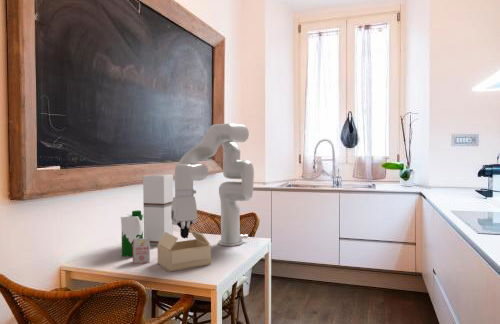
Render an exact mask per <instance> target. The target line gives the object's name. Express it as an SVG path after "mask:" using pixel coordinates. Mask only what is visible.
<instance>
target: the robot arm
mask: <svg viewBox="0 0 500 324" xmlns="http://www.w3.org/2000/svg"><path fill="white" fill-rule="evenodd" d="M249 135H250V131H249V129H248V127H247V126H246V125H244V124H237V123H236V124H235V123H215V124H212V125H210V126H209V128H208V129H207V131H206V133H205V134H204V135H203V137H202V139H201V141H200V143H198V144H197V145H196V146H194V147H193V148H191V149H189V150H188V151H187V152H186V153H184V154H183V155H182V156H181V158H180V160H179V162H178V163H177V164H176V165H175V166H174V196H173V200H172V207H171V219H172V224H173V226H177V227H178V228H180V229H179V230H180V238H182V239H188V237H189V235H190V234H189V232H190V231H189V230H190V228H191V226H192V224H195V223H197V222H198V219H197V218H198V210H197V201H196V198H195V197H196V196H195V195H194V194H196V193H197V190H194V181H198V182H199V181H200V182H202V181H203V180H206V179H207V177H208V176H209V169H208V166H206V165H205V164H203V163H198V162H200V161H204V160H206V159H210V158H212V157H213V156H215V155H216V153H217V152H218V150H219V148H220V146H222V149H223V165H222V166H223V167H222V174H223V177H224V178H226V179H230V180H241V181H225V182H222V183H221V184H219V187H218V196H219V200H220V201H219V202H220V239H219V240H218V241H217V244H218V245H220V246H223V247H224V246H225V247H235V246H237V247H238V246H241V245H243V244H244V240H243V239H248V238H249V235H248V234H244V233H243V234H242V233H240V232H241V231H240V230H241V228H240V226H241V225H240V224H241V223H240V220H241V219H240V217H241V215H240V212H241V211H240V210H241V209H240V207H239V204H238V202H239V201H240V202H249V201H250V200H251V199H252V197H253V193H254V178H255V170H254V165H253V163H252V162H251V161H249V160H241V149H240V147H239V145H238V144H237V143H245V142H247V140H248V139H249Z"/></svg>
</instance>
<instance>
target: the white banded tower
mask: <svg viewBox="0 0 500 324" xmlns="http://www.w3.org/2000/svg"><path fill="white" fill-rule="evenodd" d="M142 180H143V184H142V185H143V187H142V190H143V192H142V193H143V197H142V199H143V215H144V216H143V239H144V238H149V239H150V246H157V244H158V243H159V241H160V240H161V238H162V237H163V235H164V234H165V232H167V233H169V234H171V235H173V233H174V229H173V226H174V225H173V224H172V219H171V207H172V200H173V197H174V174H152V175H143V176H142ZM173 236H174V235H173Z"/></svg>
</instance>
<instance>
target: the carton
mask: <svg viewBox="0 0 500 324" xmlns="http://www.w3.org/2000/svg"><path fill="white" fill-rule="evenodd" d="M156 246H157V264H158V265H159V264H160V265H159V266H160V267H162V268H163V267H164V269H165V270H166V271H168V272H169V273H172V272H177V271H181V270H187V269H189V270H190V269H193V268H194V269H195V268H199V267H206V266H209V265H210V266H211V265H212V245H211V244H210V245H208V244H206V243H204V242H202V241H199V240H197V239H196V238H195V239H187V240H181V241H176V243H175V244H174V246H173V247H172V249H171V250H168V249H167V248H165V247H163V246H162V245H160V244H157V245H156Z"/></svg>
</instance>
